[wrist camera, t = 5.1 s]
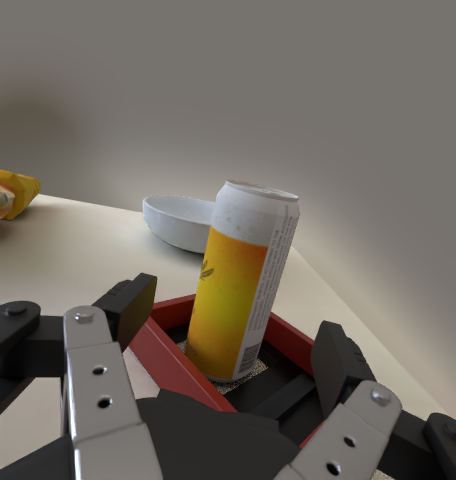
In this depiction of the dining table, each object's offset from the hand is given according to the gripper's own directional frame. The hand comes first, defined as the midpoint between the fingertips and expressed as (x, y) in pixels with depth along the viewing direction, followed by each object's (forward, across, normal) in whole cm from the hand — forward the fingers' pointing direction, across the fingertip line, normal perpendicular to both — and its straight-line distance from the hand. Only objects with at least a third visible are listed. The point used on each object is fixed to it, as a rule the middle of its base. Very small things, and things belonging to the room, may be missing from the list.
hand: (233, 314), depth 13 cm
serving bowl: (+37, +8, +10) cm, 39 cm away
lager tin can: (+9, 0, +10) cm, 13 cm away
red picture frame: (+7, -2, +10) cm, 12 cm away
